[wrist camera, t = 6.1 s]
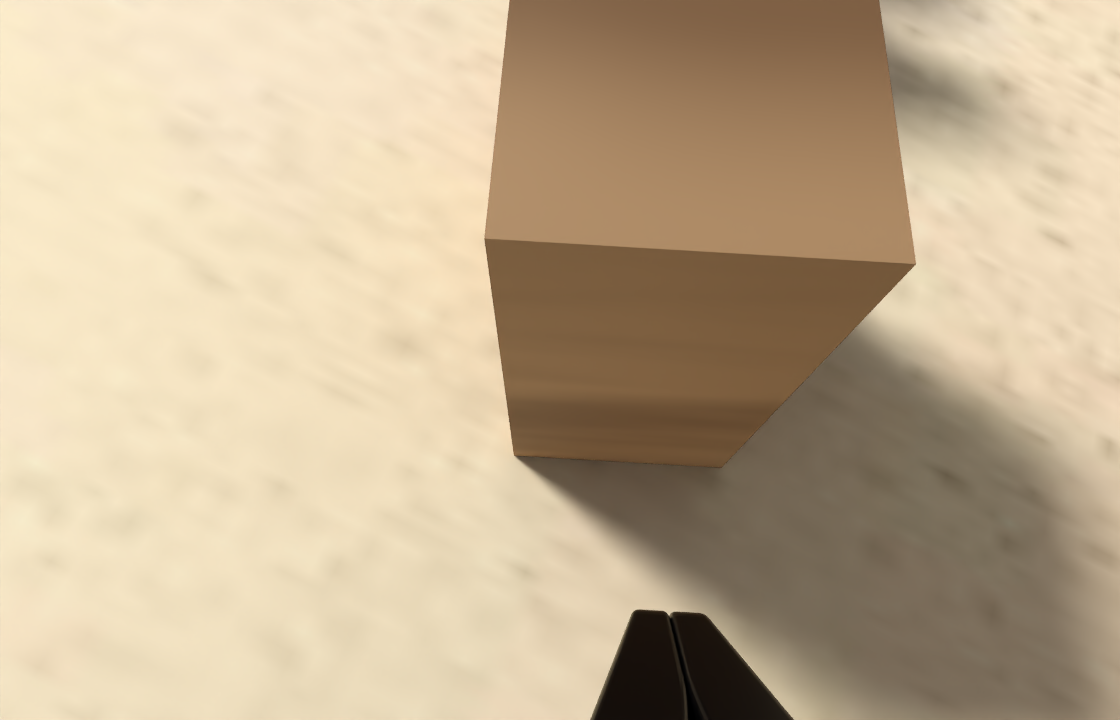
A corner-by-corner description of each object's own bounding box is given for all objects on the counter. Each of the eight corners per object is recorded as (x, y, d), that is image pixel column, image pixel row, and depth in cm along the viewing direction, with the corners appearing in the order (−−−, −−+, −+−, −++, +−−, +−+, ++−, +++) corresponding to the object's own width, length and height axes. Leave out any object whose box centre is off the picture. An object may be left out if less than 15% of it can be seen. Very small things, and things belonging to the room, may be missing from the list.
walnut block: (721, 467, 16) (916, 263, 8) (513, 455, 16) (484, 238, 8) (708, -12, 21) (816, -444, 13) (551, -22, 21) (558, -460, 13)
